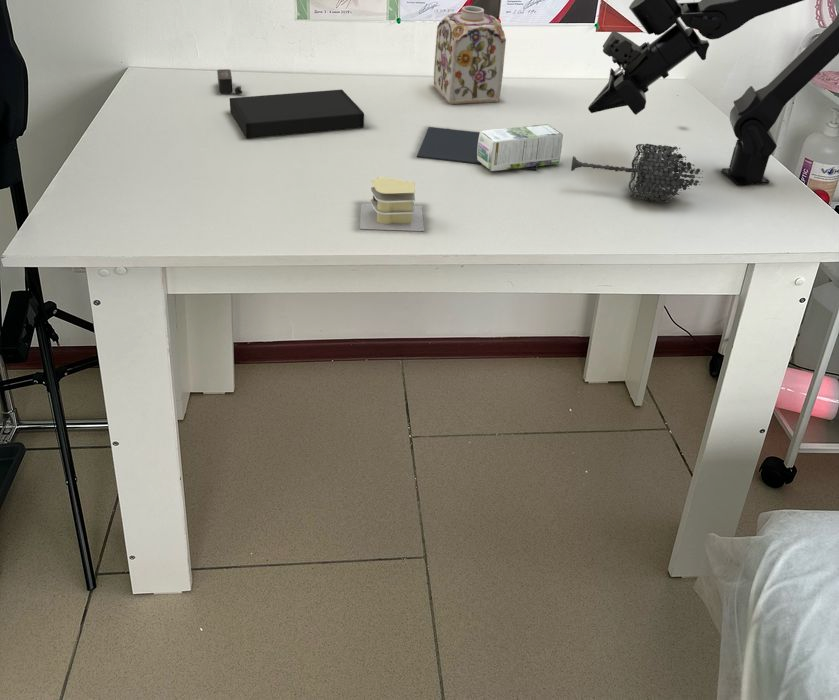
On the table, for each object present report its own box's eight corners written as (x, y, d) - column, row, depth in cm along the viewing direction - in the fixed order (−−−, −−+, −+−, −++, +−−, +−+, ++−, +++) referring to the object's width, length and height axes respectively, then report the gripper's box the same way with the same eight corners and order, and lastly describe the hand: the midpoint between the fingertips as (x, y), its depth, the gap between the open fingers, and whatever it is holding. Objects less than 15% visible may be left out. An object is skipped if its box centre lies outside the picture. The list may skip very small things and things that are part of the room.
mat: (540, 140, 176) (540, 139, 176) (536, 170, 164) (536, 169, 164) (428, 128, 178) (428, 126, 178) (416, 157, 166) (416, 155, 166)
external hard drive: (230, 112, 180) (229, 97, 178) (341, 103, 187) (342, 89, 186) (246, 138, 169) (245, 123, 167) (364, 128, 177) (364, 113, 175)
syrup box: (544, 153, 171) (475, 162, 165) (548, 122, 167) (478, 130, 162) (560, 163, 166) (490, 173, 161) (564, 132, 163) (492, 141, 158)
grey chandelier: (568, 178, 162) (576, 127, 157) (693, 191, 160) (705, 141, 155) (567, 200, 154) (576, 148, 149) (698, 214, 152) (711, 162, 147)
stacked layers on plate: (421, 206, 149) (423, 175, 146) (423, 231, 142) (425, 199, 139) (361, 204, 149) (361, 172, 146) (359, 229, 141) (360, 196, 138)
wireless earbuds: (219, 96, 187) (218, 80, 185) (218, 84, 192) (217, 69, 191) (242, 95, 188) (241, 80, 186) (240, 84, 193) (239, 69, 192)
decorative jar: (432, 86, 199) (437, 1, 189) (481, 84, 202) (489, 0, 192) (449, 105, 190) (456, 17, 179) (501, 102, 193) (510, 15, 183)
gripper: (633, 4, 161) (563, 60, 169) (638, 32, 146) (560, 93, 154) (669, 53, 165) (599, 106, 173) (677, 85, 150) (600, 142, 157)
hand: (589, 110), depth 164 cm, fingers closed
